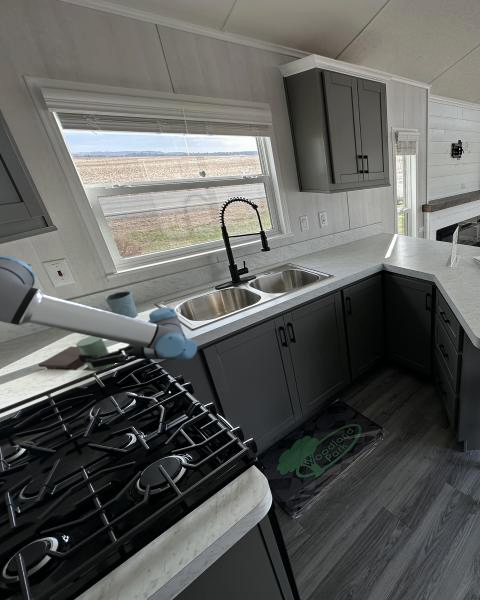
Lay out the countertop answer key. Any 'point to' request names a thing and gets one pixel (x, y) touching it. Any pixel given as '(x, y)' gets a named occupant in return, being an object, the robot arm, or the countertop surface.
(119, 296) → the blue plant pot
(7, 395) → the countertop surface
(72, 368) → the stand
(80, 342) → the sage green cylinder
